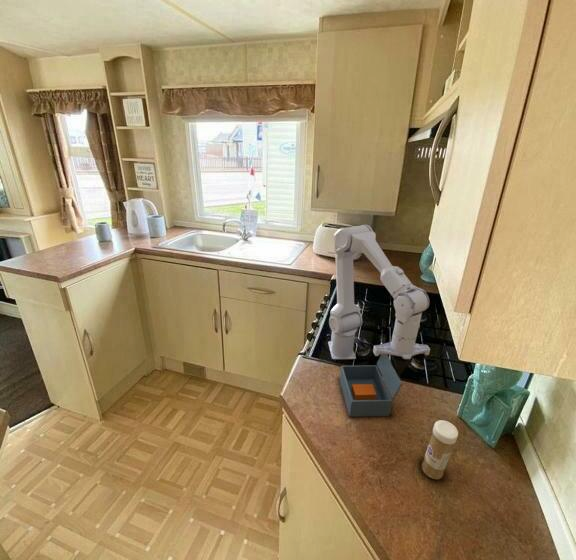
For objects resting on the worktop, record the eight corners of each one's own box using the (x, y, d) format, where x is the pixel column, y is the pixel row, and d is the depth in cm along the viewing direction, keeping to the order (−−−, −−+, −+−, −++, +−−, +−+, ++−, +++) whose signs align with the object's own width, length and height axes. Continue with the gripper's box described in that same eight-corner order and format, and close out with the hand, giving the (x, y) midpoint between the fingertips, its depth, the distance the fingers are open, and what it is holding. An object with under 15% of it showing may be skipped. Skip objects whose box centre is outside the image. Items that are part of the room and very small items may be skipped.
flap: (383, 349, 91) (384, 349, 91) (376, 363, 93) (377, 363, 93) (401, 383, 79) (402, 383, 79) (392, 398, 81) (393, 398, 81)
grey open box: (339, 379, 96) (341, 365, 93) (374, 379, 96) (376, 365, 94) (349, 416, 83) (351, 401, 81) (389, 415, 84) (392, 400, 81)
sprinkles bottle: (417, 464, 71) (429, 422, 66) (433, 458, 73) (446, 416, 67) (431, 483, 68) (446, 440, 62) (448, 476, 69) (464, 434, 63)
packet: (354, 401, 87) (355, 394, 86) (351, 390, 91) (351, 384, 90) (375, 400, 88) (376, 394, 87) (371, 390, 91) (372, 383, 90)
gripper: (382, 343, 77) (374, 385, 82) (439, 342, 78) (428, 384, 83) (373, 327, 83) (367, 367, 89) (426, 326, 84) (417, 366, 90)
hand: (396, 374), depth 86 cm, fingers closed
